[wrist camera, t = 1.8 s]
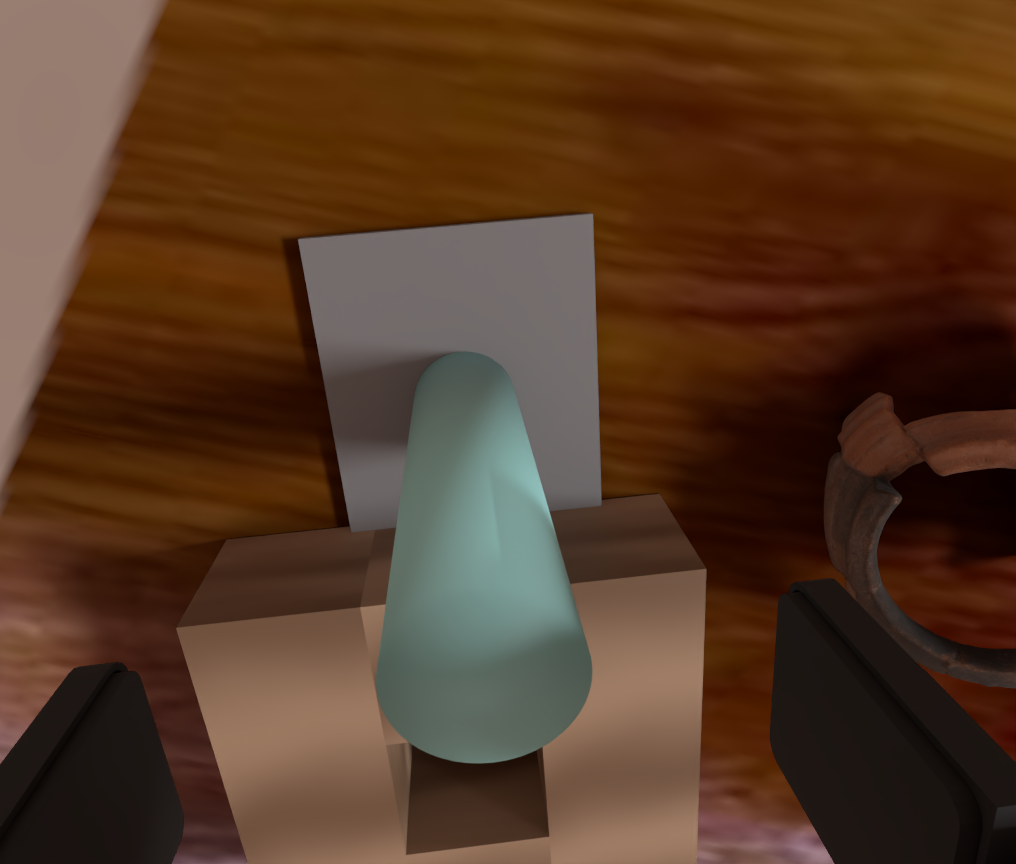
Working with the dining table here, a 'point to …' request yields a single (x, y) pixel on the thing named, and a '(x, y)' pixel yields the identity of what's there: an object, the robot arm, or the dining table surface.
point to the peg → (477, 580)
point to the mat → (457, 343)
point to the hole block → (424, 777)
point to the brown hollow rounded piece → (871, 499)
